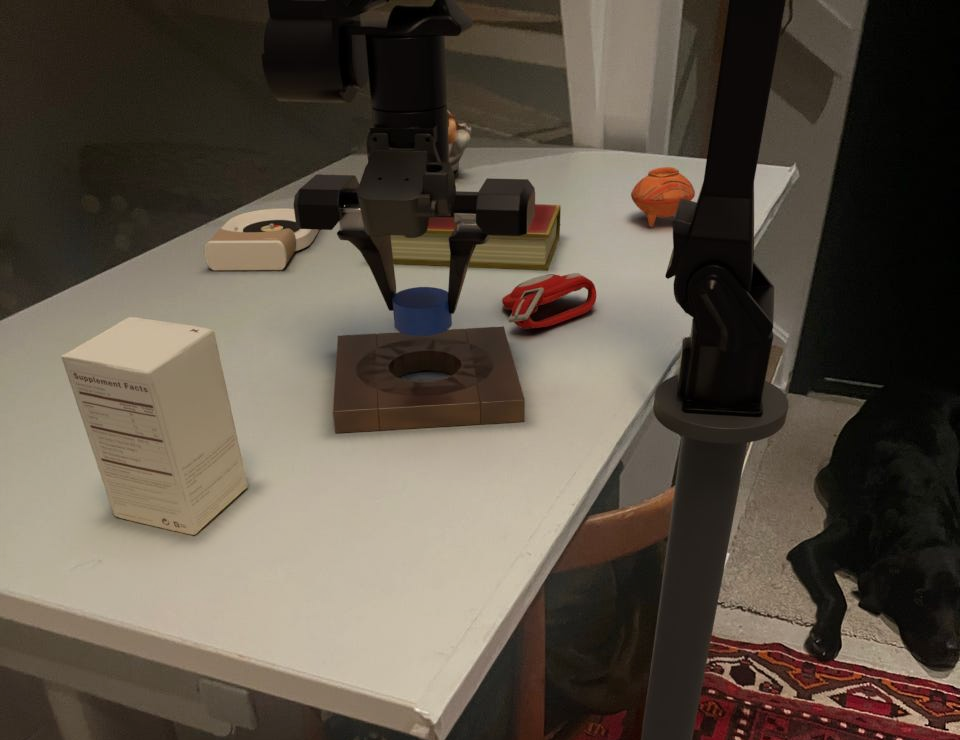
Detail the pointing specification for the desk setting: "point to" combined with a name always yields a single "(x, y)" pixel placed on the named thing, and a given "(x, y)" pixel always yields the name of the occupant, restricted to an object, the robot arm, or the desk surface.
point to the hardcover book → (494, 253)
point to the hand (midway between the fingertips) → (422, 310)
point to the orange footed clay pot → (661, 193)
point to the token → (421, 311)
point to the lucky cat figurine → (457, 141)
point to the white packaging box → (159, 422)
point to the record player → (257, 241)
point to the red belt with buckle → (547, 298)
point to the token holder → (409, 404)
